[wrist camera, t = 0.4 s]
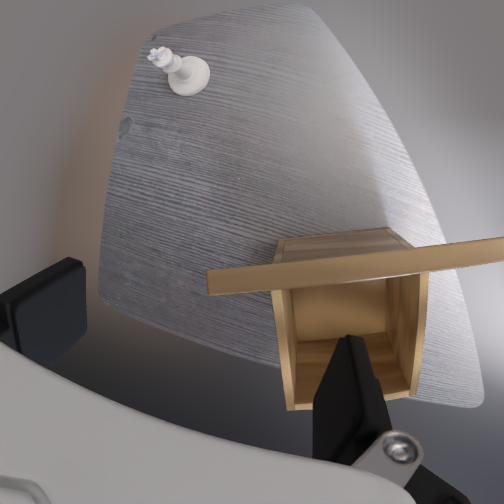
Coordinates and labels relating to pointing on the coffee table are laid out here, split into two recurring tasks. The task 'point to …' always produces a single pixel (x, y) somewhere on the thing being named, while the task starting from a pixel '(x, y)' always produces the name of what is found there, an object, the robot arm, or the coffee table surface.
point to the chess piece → (182, 71)
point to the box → (349, 317)
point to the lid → (354, 267)
